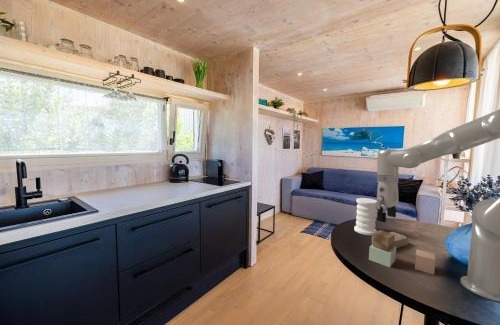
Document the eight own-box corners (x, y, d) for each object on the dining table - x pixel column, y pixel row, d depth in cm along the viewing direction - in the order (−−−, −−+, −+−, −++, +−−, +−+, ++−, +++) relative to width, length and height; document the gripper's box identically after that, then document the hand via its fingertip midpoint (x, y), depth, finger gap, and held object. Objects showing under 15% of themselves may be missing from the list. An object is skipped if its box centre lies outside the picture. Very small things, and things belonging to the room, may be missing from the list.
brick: (391, 238, 118) (392, 230, 117) (408, 245, 110) (409, 236, 110) (370, 244, 111) (371, 235, 110) (387, 252, 103) (387, 242, 103)
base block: (395, 260, 96) (396, 247, 95) (389, 267, 90) (390, 253, 90) (375, 253, 101) (375, 241, 101) (368, 260, 96) (369, 246, 95)
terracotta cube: (433, 268, 90) (434, 253, 89) (434, 274, 85) (435, 259, 85) (415, 262, 94) (416, 249, 93) (414, 269, 89) (415, 254, 89)
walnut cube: (394, 248, 94) (394, 234, 94) (387, 252, 91) (388, 238, 90) (379, 242, 99) (379, 229, 99) (372, 246, 96) (373, 233, 95)
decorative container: (349, 229, 130) (351, 199, 128) (362, 225, 135) (363, 197, 133) (368, 236, 119) (370, 204, 118) (381, 232, 125) (383, 201, 123)
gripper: (388, 182, 84) (387, 226, 86) (405, 177, 95) (404, 216, 96) (368, 180, 90) (367, 221, 92) (386, 176, 101) (385, 212, 102)
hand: (386, 218), depth 94 cm, fingers open, 9 cm apart
